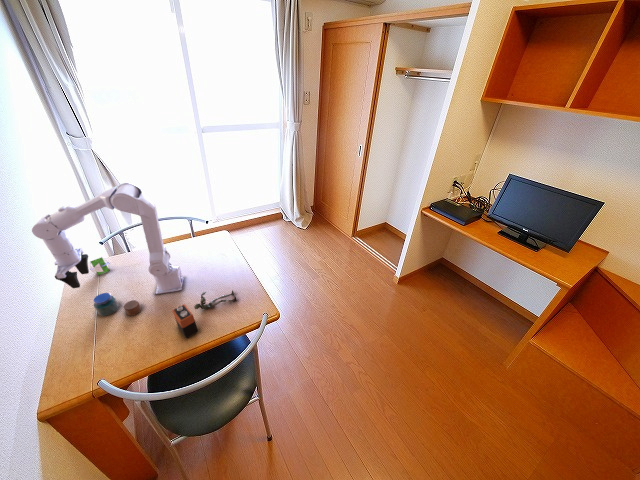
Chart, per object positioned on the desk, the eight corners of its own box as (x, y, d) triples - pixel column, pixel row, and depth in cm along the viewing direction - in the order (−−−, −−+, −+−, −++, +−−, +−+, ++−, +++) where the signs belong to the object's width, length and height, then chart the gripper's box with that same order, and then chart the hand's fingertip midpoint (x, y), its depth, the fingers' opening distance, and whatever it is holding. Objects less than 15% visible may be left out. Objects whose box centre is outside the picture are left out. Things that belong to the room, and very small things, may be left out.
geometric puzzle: (87, 266, 115) (84, 259, 109) (106, 259, 119) (104, 252, 113) (96, 279, 114) (93, 273, 108) (114, 272, 118) (112, 266, 112)
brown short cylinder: (142, 304, 101) (139, 299, 100) (139, 314, 98) (136, 308, 96) (128, 307, 100) (125, 301, 98) (125, 316, 97) (122, 310, 95)
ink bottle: (121, 301, 102) (115, 290, 99) (115, 314, 97) (109, 302, 94) (101, 304, 101) (94, 293, 97) (95, 317, 95) (87, 305, 92)
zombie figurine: (234, 289, 101) (193, 304, 95) (237, 301, 105) (197, 316, 99) (230, 280, 105) (190, 294, 98) (232, 292, 109) (194, 306, 102)
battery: (186, 339, 90) (179, 320, 85) (178, 327, 94) (170, 308, 88) (198, 331, 93) (192, 312, 87) (190, 320, 97) (183, 301, 91)
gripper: (59, 239, 94) (76, 269, 102) (36, 265, 83) (57, 296, 90) (82, 237, 96) (98, 266, 103) (63, 262, 84) (82, 292, 92)
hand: (81, 280), depth 97 cm, fingers open, 7 cm apart
